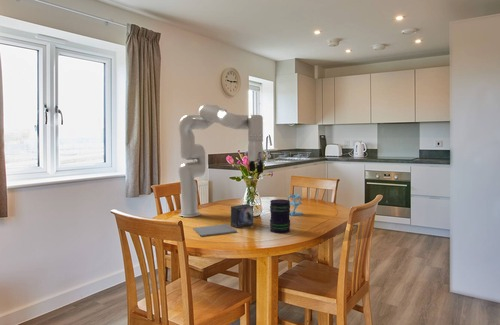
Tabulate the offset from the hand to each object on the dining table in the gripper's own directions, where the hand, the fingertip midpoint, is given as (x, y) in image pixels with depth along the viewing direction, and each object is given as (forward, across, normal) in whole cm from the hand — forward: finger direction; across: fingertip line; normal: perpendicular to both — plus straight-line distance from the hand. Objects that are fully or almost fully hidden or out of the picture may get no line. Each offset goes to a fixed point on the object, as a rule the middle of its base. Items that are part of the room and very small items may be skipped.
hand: (255, 171), depth 188 cm
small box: (+29, -3, -7) cm, 30 cm away
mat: (+28, +1, -23) cm, 37 cm away
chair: (+29, -14, +31) cm, 44 cm away
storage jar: (+29, +15, +6) cm, 33 cm away
